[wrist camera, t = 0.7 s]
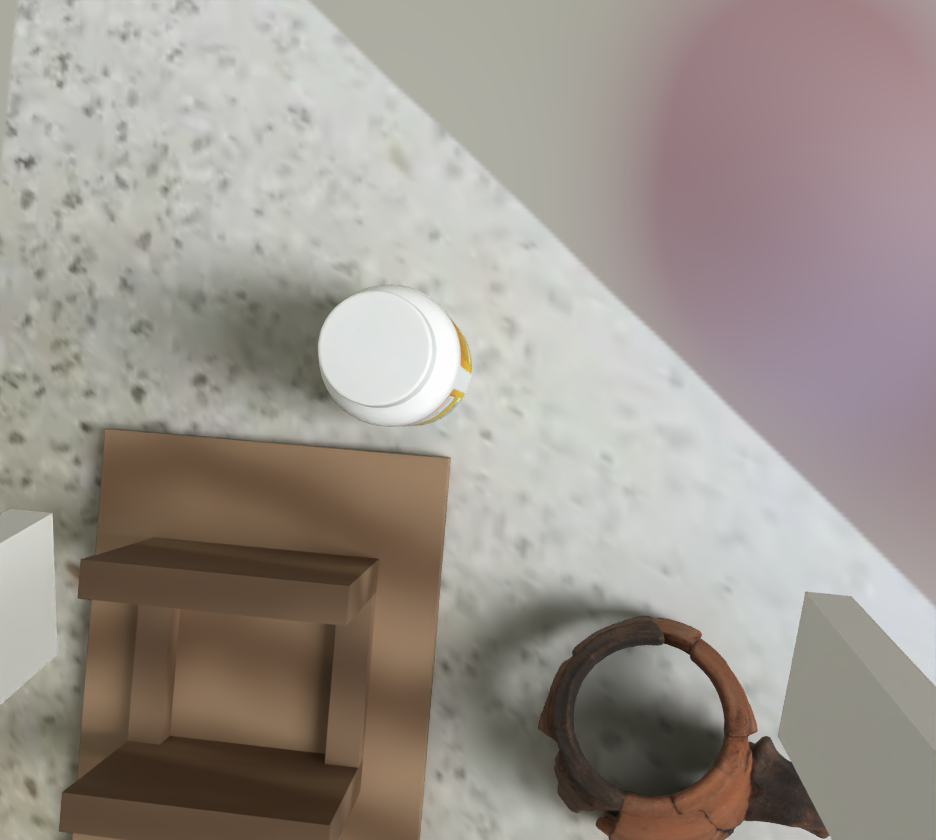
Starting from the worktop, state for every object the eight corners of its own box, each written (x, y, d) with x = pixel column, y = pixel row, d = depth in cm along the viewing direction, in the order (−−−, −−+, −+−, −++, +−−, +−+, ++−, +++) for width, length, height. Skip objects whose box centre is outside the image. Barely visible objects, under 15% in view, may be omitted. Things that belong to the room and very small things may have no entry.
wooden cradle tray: (415, 891, 37) (388, 1001, 30) (82, 848, 38) (-19, 944, 31) (450, 457, 37) (432, 466, 30) (116, 429, 38) (22, 430, 31)
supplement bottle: (378, 294, 37) (324, 248, 27) (488, 330, 36) (473, 295, 27) (342, 404, 37) (275, 398, 27) (451, 441, 37) (423, 448, 27)
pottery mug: (536, 823, 37) (504, 810, 30) (582, 625, 41) (564, 572, 34) (816, 916, 33) (854, 925, 26) (837, 687, 37) (875, 641, 30)
